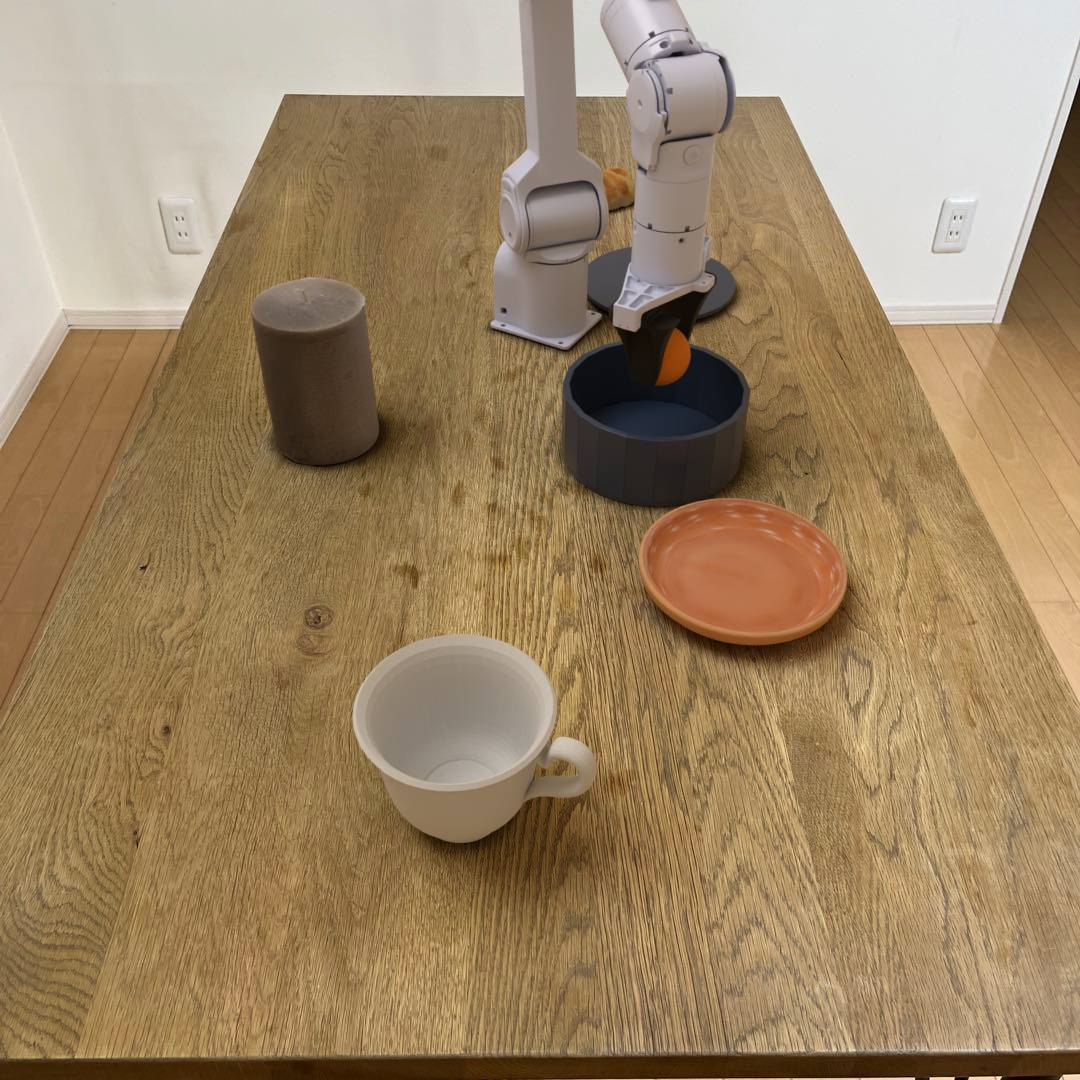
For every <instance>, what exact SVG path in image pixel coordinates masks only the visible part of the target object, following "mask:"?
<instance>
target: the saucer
mask: <svg viewBox="0 0 1080 1080" xmlns="http://www.w3.org/2000/svg"><path fill="white" fill-rule="evenodd" d="M638 568H639V575H640V578H641V581H642V584H643V586H644V589H645V591H646V592H647V594H648V595H649V597H650V599H651V600H652V601H653V603H654V604H655V605H656V606H657V607H658V608H659V609H660V610H661V611H662V612H663V613H664V614H665V615H666V616H668V617H669V618H671V619H672V620H673V621H675V622H676V623H678V624H679V625H681V626H682V627H684V628H686V629H688V630H689V631H691V632H694V633H695V634H698V635H701V636H703V637H705V638H709V639H711V640H716V641H719V642H723V643H728V644H733V645H734V644H735V645H740V646H741V645H742V646H768V645H777V644H781V643H786V642H790V641H793V640H797V639H800V638H802V637H804V636H807V635H810V634H812V633H813V632H815V631H817V630H818V629H820V628H821V627H822V626H824V625H825V624H826V623H827V622H829V621H830V619H831V618H832V617H833V616H834V615H835V613H836V612H837V610H838V609H839V607H840V605H841V603H842V601H843V599H844V597H845V594H846V591H847V586H848V570H847V566H846V562H845V559H844V557H843V554H842V553H841V551H840V550H839V548H838V546H837V545H836V543H835V542H834V541H833V540H832V538H830V537H829V536H828V534H826V533H825V531H823V530H822V529H821V528H820V527H819V526H817V525H816V524H815V523H813V522H812V521H811V520H809V519H807V518H805V517H803V516H802V515H800V514H799V513H795V512H793V511H791V510H789V509H787V508H784V507H782V506H778V505H776V504H772V503H768V502H766V501H765V502H764V501H759V500H754V499H746V498H737V497H736V498H734V497H733V498H732V497H731V498H730V497H723V498H711V499H703V500H699V501H696V502H692V503H688V504H683V505H680V506H679V507H677V508H674V509H672V510H670V511H668V512H667V513H665V514H664V515H662V516H661V517H659V518H658V519H657V520H656V521H655V522H654V523H652V524H651V526H650V527H649V528H648V529H647V530H646V532H645V533H644V535H643V537H642V540H641V542H640V545H639V550H638Z"/></svg>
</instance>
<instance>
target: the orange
mask: <svg viewBox="0 0 1080 1080" xmlns="http://www.w3.org/2000/svg"><path fill="white" fill-rule="evenodd" d="M689 343H690V342H688V341H687V339H686V337H685V336H684V335H683V334H682V333H681V332H680V331H679V330H678V329H676V328H675V329H674V331H673V332H672V334H671V336H670V339H669V341H668V343H667V347H666V350H665V353H664V358H663V362H662V367H661V371H660V375H659V378H658V380H657V382H656V384H655V385H657V386H662V385H668V384H671V383H673V382H675V381H676V380H678V379H679V378H680V377H681V376H682V375H683V374H684V373H685V371H686V370H687V368H688V365H689V362H690V357H691V352H690V346H689Z"/></svg>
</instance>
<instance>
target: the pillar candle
mask: <svg viewBox="0 0 1080 1080" xmlns="http://www.w3.org/2000/svg"><path fill="white" fill-rule="evenodd" d="M366 301H367V300H366V297H365V296H364V294H362V293H361V291H360V290H359V289H358V287H354V285H352V284H350V283H347V282H343V281H341V280H338V279H337V280H336V279H333V278H320V277H315V276H313V277H311V276H307V277H302V278H300V279H293V280H288V281H284V282H281V283H278V284H275V285H273V286H270V287H269V288H267V289H264V290H263V291H260V293H259V294H258V295H257V296H256V297H255V298H254V300H253V302H252V303H251V308H250V314H251V320H252V326H253V332H254V338H255V343H256V348H257V354H258V359H259V365H260V370H261V376H262V381H263V387H264V392H265V396H266V400H267V407H268V411H269V415H270V420H271V423H272V429H273V434H274V442H275V443H274V444H275V447H276V448H277V450H278V451H279V453H280V454H281V455H283V456H284V457H285V458H287V459H288V460H290V461H293V462H295V463H298V464H302V465H309V466H327V465H328V466H329V465H336V464H341V463H344V462H349V461H352V460H355V459H356V458H358V457H359V456H362V455H364V454H365V453H366V452H368V451H369V450H370V449H371V448H372V447H373V446H374V445H375V443H376V442H377V439H378V437H379V433H380V425H379V418H378V408H377V400H376V399H377V398H376V390H375V383H374V374H373V373H374V372H373V364H372V357H371V348H370V339H369V331H368V324H367V315H366V314H367V313H366Z"/></svg>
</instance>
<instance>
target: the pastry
mask: <svg viewBox="0 0 1080 1080" xmlns="http://www.w3.org/2000/svg"><path fill="white" fill-rule="evenodd" d="M601 170H602V174H603V184H604V191H605V194H606V198H607V202H608V210H609V211H614V210H617V209H620V208H621V207H623V208H624V207H628V206H630V205H632V204H633V203H634V202H635V188H636V183H635V182H634V181H633V178H632V175H631V173H630V172H629V171H628V170H627V169H625V168H624V167H623V166H616V167H615V166H613V165H612V166H609V167H608V168H607V169H605V170H603V169H601Z"/></svg>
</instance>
